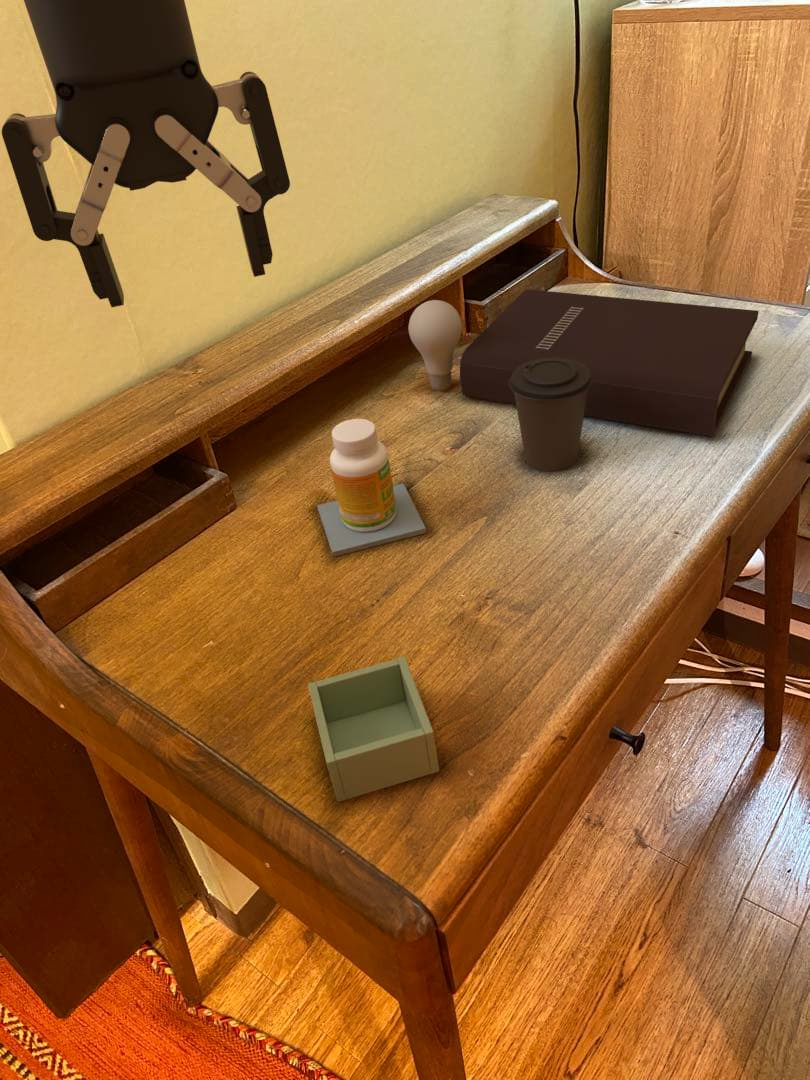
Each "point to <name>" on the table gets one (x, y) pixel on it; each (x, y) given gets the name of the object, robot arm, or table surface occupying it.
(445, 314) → the lightbulb
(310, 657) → the table surface
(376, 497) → the supplement bottle
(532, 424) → the coffee cup
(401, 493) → the mat
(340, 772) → the caddy
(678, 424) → the book
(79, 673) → the table surface
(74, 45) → the robot arm
